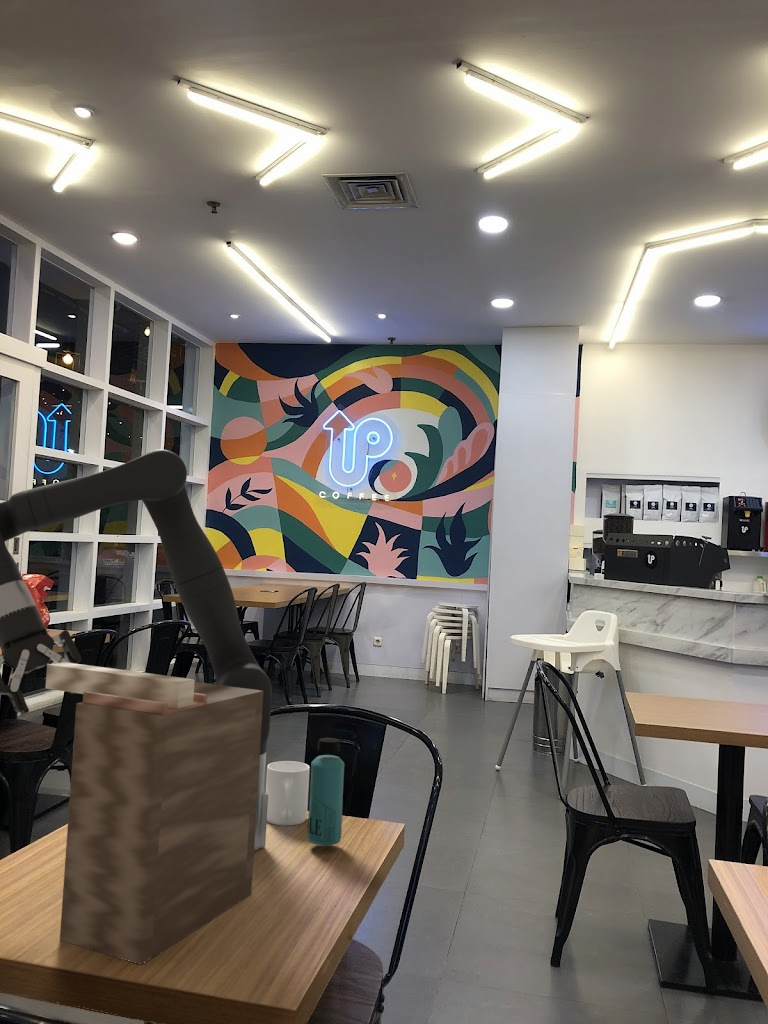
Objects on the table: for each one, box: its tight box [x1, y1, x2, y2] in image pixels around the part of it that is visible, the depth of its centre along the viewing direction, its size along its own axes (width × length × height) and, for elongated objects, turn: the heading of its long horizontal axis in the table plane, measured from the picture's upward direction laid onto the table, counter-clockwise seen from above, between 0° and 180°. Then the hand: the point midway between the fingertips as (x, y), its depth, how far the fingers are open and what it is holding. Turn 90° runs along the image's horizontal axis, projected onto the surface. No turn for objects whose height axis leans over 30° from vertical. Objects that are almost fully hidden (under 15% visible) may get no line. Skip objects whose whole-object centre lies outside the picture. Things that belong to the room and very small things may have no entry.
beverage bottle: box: [306, 737, 345, 846], centre depth 155 cm, size 6×7×20 cm
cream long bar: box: [45, 662, 196, 708], centre depth 120 cm, size 24×4×4 cm, turn 66°
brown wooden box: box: [59, 681, 263, 964], centre depth 124 cm, size 14×26×33 cm, turn 156°
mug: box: [265, 760, 311, 827], centre depth 168 cm, size 9×12×11 cm
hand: (50, 702), depth 138 cm, fingers open, 8 cm apart
